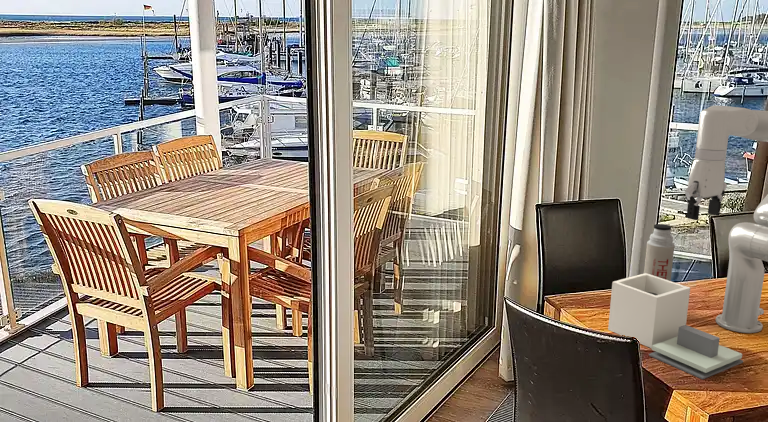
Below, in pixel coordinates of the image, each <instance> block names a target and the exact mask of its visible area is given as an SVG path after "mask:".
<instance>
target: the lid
mask: <svg viewBox="0 0 768 422" xmlns="http://www.w3.org/2000/svg"><path fill="white" fill-rule="evenodd" d="M651 351H653V352H659V353H661V354H663V355H666V356H668V357H670V358H672V359H675V360H677V361H679V362H682V363H684V364H686V365H689V366H691V367H693V368H696V369H698V370H700V371H703V372H705V373H707V372H709V371H712V370H714V369H717V368H719V367H721V366H724V365H726V364H729V363H731V362H733V361H736V360H738V359H740V360H742V358H743V353H741V352H740V351H737V350H733V349H731V348H729V347H726V346H724V345H720V337H719V336H716V335H714V334H711V333H708V332H706V331H703V330H700V329H698V328H695V327H694V326H693V327H692V326H689V325H688V324H686V325H683V326H681V327H679V330H678V336H677V337H675V338H672V339H669V340H666V341H663V342H661V343H658V344H655V345H652V348H651Z"/></svg>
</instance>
